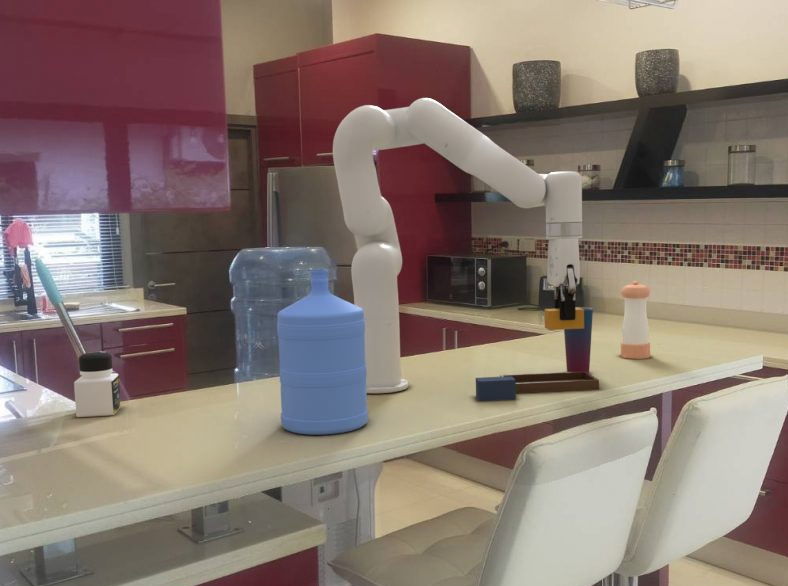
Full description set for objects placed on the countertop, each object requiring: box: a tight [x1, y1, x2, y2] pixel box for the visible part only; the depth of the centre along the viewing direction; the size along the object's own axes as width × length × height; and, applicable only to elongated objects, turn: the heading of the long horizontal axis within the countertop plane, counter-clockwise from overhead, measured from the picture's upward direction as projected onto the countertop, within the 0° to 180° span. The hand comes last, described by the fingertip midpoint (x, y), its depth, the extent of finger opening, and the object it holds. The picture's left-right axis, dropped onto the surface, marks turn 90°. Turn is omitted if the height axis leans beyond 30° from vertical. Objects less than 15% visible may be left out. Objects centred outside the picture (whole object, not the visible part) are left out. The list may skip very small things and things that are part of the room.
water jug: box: [276, 269, 369, 436], centre depth 154 cm, size 16×16×28 cm
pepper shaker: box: [620, 280, 651, 360], centre depth 218 cm, size 7×7×19 cm
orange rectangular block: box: [544, 308, 584, 331], centre depth 182 cm, size 8×4×4 cm, turn 95°
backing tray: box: [499, 371, 600, 394], centre depth 185 cm, size 19×10×2 cm, turn 95°
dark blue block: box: [475, 376, 517, 402], centre depth 174 cm, size 8×4×4 cm, turn 95°
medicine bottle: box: [73, 351, 122, 418], centre depth 170 cm, size 7×7×12 cm
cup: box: [563, 306, 594, 374], centre depth 198 cm, size 7×7×15 cm
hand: (564, 317), depth 182 cm, fingers closed on orange rectangular block, 3 cm apart
